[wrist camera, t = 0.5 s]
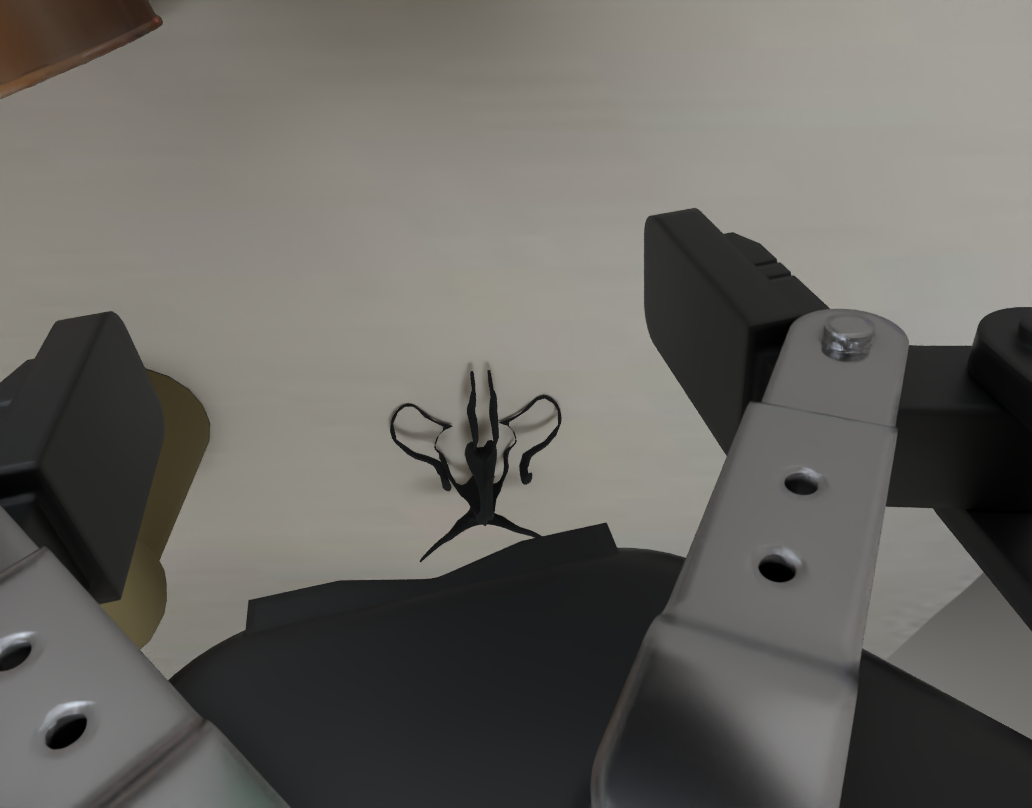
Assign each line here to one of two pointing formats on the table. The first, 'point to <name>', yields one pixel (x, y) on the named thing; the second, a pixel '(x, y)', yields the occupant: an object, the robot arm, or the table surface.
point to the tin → (64, 35)
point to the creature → (480, 468)
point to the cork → (161, 510)
